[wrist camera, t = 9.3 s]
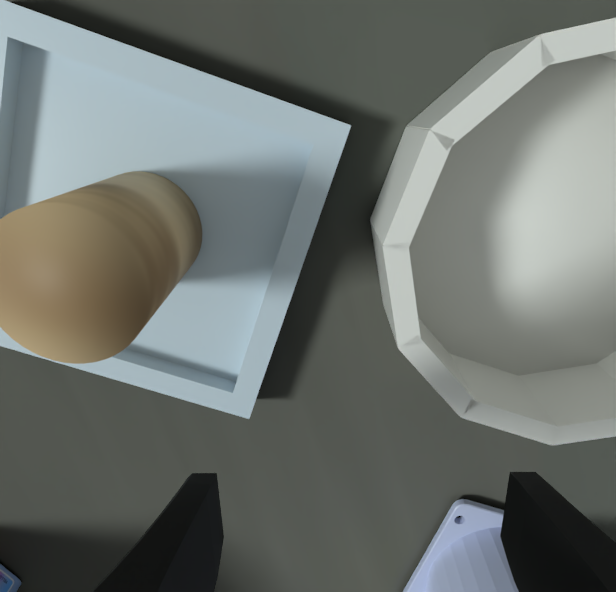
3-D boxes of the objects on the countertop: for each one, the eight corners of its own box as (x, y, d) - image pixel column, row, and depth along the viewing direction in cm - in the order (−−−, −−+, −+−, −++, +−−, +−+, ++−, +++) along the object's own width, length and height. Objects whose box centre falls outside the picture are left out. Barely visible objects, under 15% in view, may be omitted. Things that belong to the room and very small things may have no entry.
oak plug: (188, 296, 20) (132, 381, 14) (79, 265, 19) (-29, 338, 13) (214, 192, 18) (163, 235, 12) (96, 155, 18) (-18, 179, 12)
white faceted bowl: (611, 419, 22) (671, 482, 18) (327, 329, 21) (329, 376, 17) (815, 114, 17) (953, 115, 13) (464, -26, 16) (509, -69, 12)
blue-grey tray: (253, 399, 22) (249, 418, 20) (-23, 316, 21) (-48, 331, 19) (348, 124, 18) (351, 125, 16) (7, 1, 16) (-22, -9, 15)
